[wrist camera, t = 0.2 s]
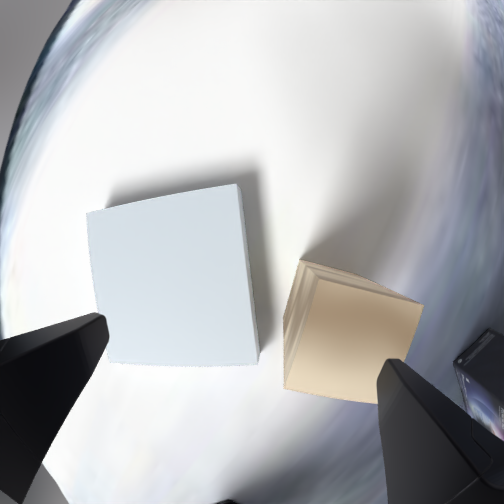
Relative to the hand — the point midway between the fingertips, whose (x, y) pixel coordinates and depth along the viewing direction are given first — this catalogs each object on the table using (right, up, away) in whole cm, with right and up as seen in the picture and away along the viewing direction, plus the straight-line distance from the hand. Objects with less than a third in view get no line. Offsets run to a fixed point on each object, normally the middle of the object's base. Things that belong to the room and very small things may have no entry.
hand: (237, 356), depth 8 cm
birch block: (+6, -1, +15) cm, 16 cm away
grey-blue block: (-7, 0, +17) cm, 18 cm away
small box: (+26, -11, +13) cm, 31 cm away
